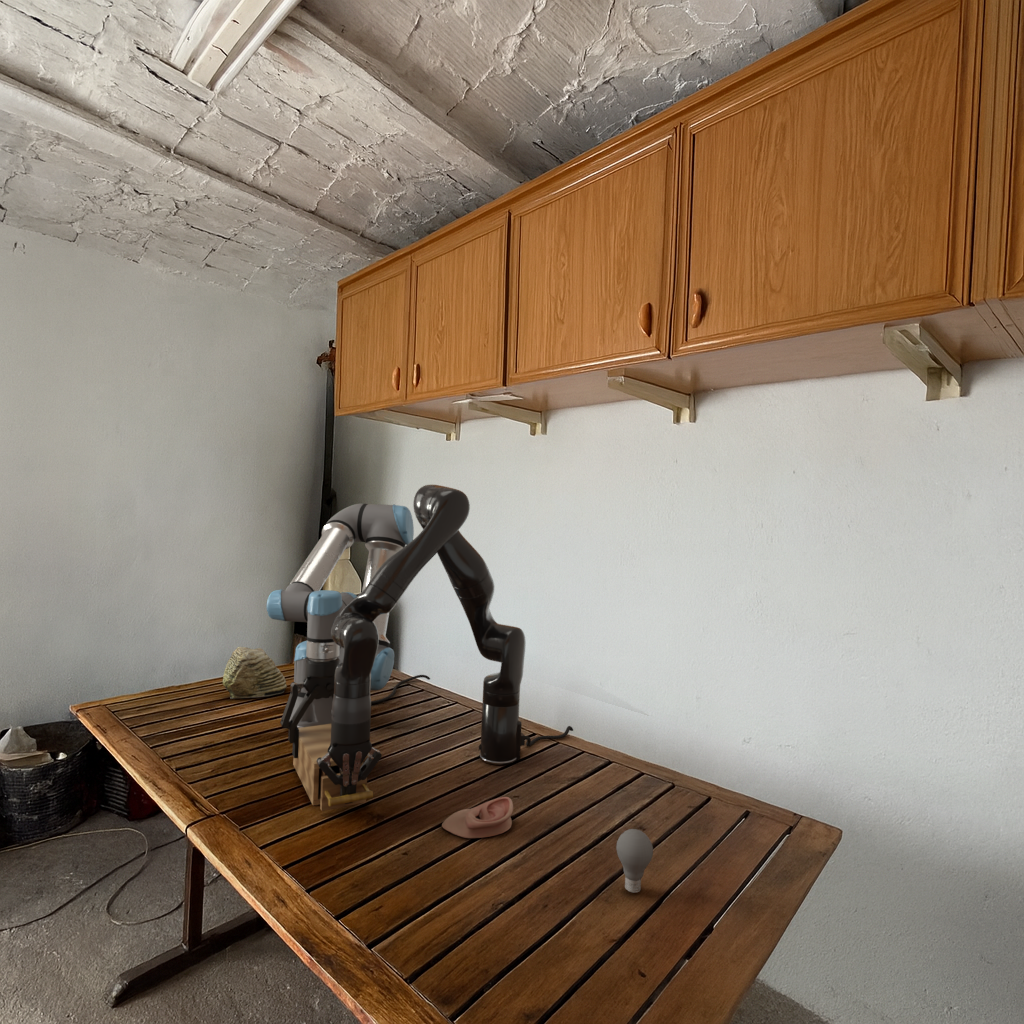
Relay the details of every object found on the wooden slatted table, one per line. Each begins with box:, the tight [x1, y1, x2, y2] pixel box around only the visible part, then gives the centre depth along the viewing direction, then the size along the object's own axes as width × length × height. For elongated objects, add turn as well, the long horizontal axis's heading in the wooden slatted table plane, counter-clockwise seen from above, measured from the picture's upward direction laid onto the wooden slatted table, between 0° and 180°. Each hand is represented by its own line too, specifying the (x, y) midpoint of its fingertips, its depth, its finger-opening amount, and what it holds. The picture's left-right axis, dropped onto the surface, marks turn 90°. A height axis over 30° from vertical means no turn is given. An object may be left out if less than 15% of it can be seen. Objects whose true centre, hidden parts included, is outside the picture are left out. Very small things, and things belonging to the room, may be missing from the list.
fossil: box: [222, 646, 288, 699], centre depth 198 cm, size 9×18×15 cm, turn 132°
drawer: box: [318, 765, 374, 812], centre depth 134 cm, size 26×9×6 cm, turn 29°
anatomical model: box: [441, 796, 514, 839], centre depth 125 cm, size 13×4×12 cm
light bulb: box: [615, 828, 654, 894], centre depth 106 cm, size 6×6×10 cm
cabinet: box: [292, 724, 364, 806], centre depth 142 cm, size 22×10×9 cm, turn 29°
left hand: (319, 752), depth 148 cm, fingers closed on cabinet, 10 cm apart
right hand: (347, 801), depth 125 cm, fingers closed
